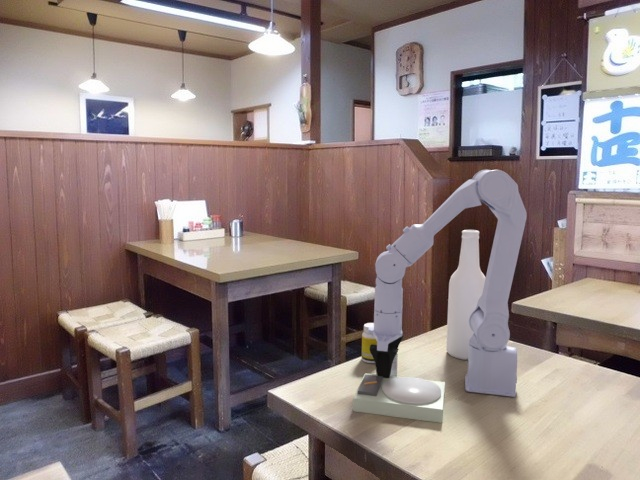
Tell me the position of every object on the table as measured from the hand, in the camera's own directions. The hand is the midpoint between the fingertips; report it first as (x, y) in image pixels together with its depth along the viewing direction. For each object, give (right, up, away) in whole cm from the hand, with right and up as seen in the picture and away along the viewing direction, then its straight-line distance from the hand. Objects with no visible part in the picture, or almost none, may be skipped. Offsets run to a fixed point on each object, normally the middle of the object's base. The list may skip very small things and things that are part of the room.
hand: (386, 372), depth 107 cm
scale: (+2, -3, -9) cm, 10 cm away
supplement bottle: (-2, 0, +12) cm, 12 cm away
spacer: (0, -2, 0) cm, 2 cm away
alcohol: (+21, 0, +16) cm, 27 cm away
